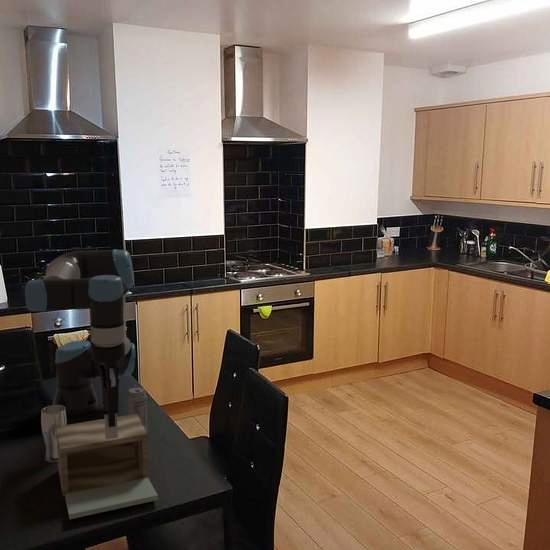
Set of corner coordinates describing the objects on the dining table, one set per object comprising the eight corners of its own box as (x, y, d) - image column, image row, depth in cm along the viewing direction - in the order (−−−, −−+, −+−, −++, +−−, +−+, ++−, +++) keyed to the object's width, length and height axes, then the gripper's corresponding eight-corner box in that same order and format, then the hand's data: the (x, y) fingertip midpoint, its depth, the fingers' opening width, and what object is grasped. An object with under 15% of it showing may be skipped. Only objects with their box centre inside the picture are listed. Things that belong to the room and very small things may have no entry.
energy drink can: (141, 428, 189) (140, 385, 187) (151, 435, 185) (149, 390, 182) (124, 433, 185) (123, 389, 183) (133, 440, 181) (132, 395, 178)
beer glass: (44, 465, 165) (41, 416, 162) (42, 455, 171) (39, 407, 168) (70, 460, 168) (67, 411, 165) (66, 450, 174) (64, 403, 172)
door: (65, 494, 147) (69, 514, 136) (147, 477, 155) (157, 495, 144) (65, 502, 147) (69, 523, 136) (148, 485, 155) (158, 503, 144)
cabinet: (58, 473, 161) (56, 426, 158) (138, 458, 170) (137, 413, 167) (62, 499, 148) (60, 448, 146) (148, 482, 157) (147, 433, 155)
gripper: (87, 336, 138) (91, 428, 143) (94, 352, 127) (99, 452, 131) (119, 333, 141) (122, 423, 146) (129, 348, 130) (132, 446, 134)
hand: (111, 437), depth 138 cm, fingers closed
